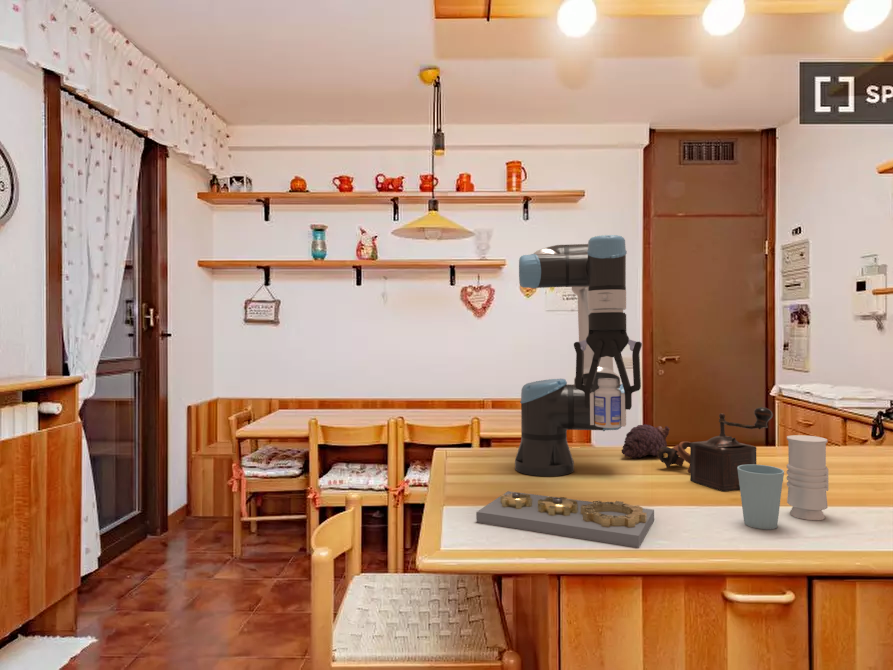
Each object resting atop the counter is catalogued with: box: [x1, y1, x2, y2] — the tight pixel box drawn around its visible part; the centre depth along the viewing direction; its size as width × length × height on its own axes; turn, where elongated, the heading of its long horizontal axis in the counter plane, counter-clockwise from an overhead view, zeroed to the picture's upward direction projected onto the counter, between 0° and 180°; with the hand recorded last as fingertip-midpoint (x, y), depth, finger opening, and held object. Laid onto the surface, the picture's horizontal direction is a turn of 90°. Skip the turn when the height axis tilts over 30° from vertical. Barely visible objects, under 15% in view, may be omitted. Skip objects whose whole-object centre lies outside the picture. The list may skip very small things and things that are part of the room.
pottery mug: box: [657, 440, 691, 474], centre depth 154 cm, size 12×10×8 cm
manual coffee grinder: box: [689, 406, 774, 492], centre depth 141 cm, size 16×11×18 cm
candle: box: [786, 434, 829, 521], centre depth 117 cm, size 7×7×15 cm
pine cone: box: [621, 423, 671, 459], centre depth 171 cm, size 18×10×10 cm
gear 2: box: [581, 500, 647, 528], centre depth 111 cm, size 12×12×1 cm
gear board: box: [476, 490, 655, 549], centre depth 115 cm, size 30×16×2 cm, turn 62°
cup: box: [737, 464, 785, 530], centre depth 112 cm, size 8×8×10 cm
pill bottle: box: [594, 378, 622, 428], centre depth 123 cm, size 5×5×10 cm
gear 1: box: [538, 496, 578, 516], centre depth 116 cm, size 8×8×2 cm
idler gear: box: [499, 491, 532, 509], centre depth 119 cm, size 6×6×2 cm
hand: (608, 424), depth 123 cm, fingers closed on pill bottle, 5 cm apart
